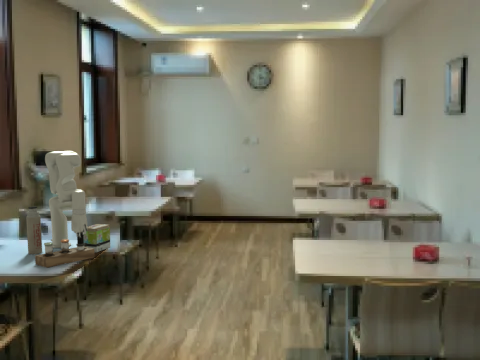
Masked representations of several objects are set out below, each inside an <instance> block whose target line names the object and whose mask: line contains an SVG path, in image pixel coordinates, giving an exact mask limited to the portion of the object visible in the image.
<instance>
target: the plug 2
mask: <svg viewBox="0 0 480 360" xmlns="http://www.w3.org/2000/svg"><path fill="white" fill-rule="evenodd" d="M84 245H85V243H83V244H77V243H76V247H77V250H84Z"/></svg>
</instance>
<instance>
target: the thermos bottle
mask: <svg viewBox="0 0 480 360" xmlns="http://www.w3.org/2000/svg"><path fill="white" fill-rule="evenodd" d="M26 215H27V216H26V217H25V218H26V219H25V220H26V222H25V223H26V236H27V253H28V255H40V254H43V240H42V238H43V236H42V223H41V222H42V221H41V217H42V216H41V215H40V212H39V211H38V206H36V205H35V206H28V211H27V213H26ZM39 253H40V254H39Z"/></svg>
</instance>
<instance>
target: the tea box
mask: <svg viewBox="0 0 480 360" xmlns="http://www.w3.org/2000/svg"><path fill="white" fill-rule="evenodd" d="M87 226H88V225H87ZM84 243H85V245H84V247H89V248H93V249H94V253H98V252H100V251H101V252H102V251H104V250H106V249H110V248H111V224H101V223H96V224H93V225H92V224H91V225H89V226H88V230H87V231H86V234H84Z"/></svg>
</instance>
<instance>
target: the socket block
mask: <svg viewBox="0 0 480 360" xmlns="http://www.w3.org/2000/svg"><path fill="white" fill-rule="evenodd" d="M95 253H96V252H94V249H93V248H89V247H84V250H77V246H76V247H75V246H74V247H69V253H64V254H63V253H62V250H56V251H53V256H50V257H45V253H40V254H34V258H35V259H34V261H35V265H36V266H39V267H43V268H51V267H57V266H61V265H66V264H70V263H76V262H80V261H83V260H88V259H94V258H95Z"/></svg>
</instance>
